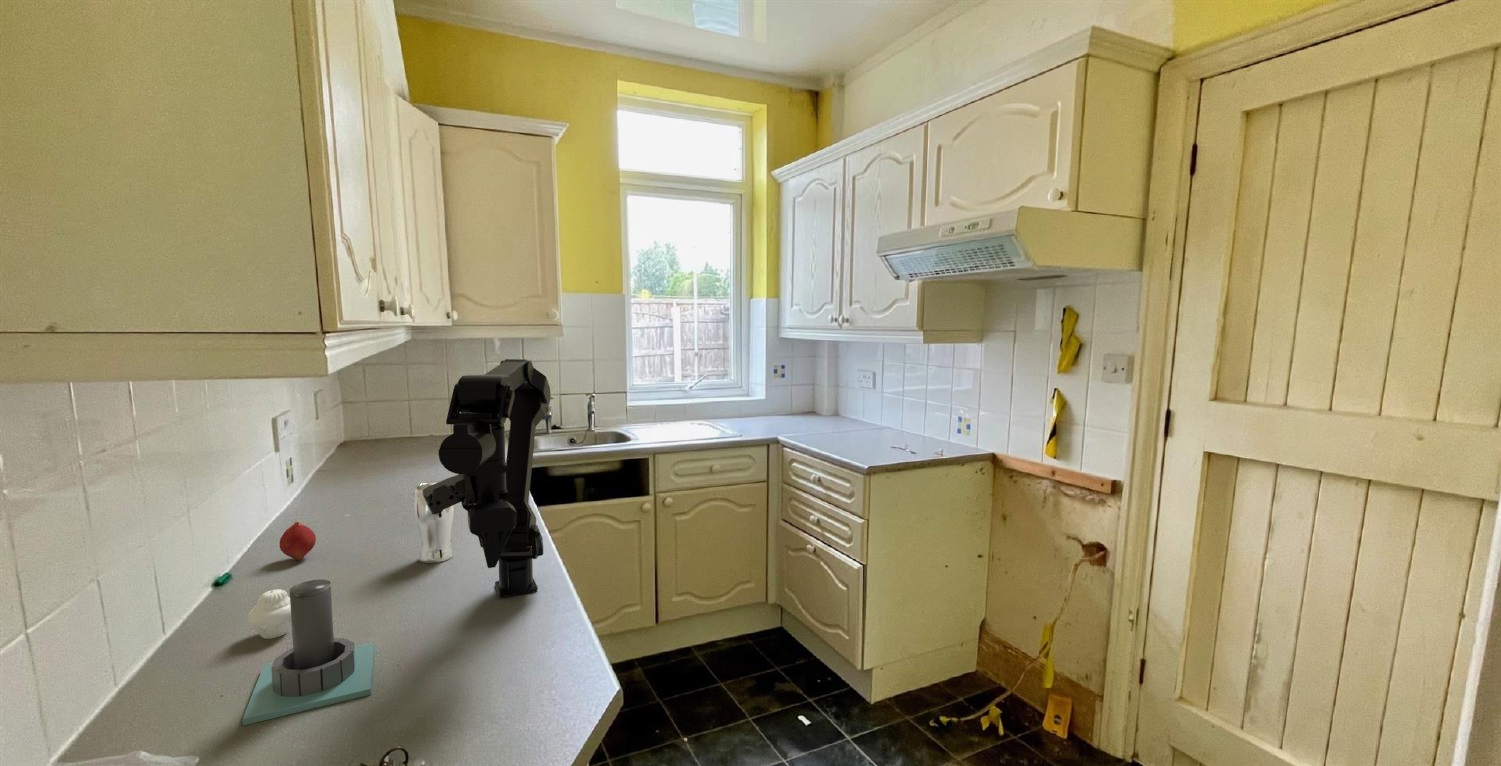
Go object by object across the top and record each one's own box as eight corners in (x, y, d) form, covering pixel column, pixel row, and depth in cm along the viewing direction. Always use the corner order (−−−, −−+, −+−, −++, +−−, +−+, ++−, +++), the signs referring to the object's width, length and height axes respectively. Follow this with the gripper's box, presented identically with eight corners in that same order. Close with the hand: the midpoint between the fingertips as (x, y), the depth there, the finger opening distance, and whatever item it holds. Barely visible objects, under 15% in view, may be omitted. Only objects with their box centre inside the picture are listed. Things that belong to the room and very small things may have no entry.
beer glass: (445, 548, 129) (443, 479, 128) (461, 557, 125) (459, 485, 123) (410, 558, 124) (408, 485, 122) (426, 567, 120) (423, 492, 118)
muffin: (308, 629, 95) (305, 586, 95) (263, 648, 90) (259, 602, 89) (286, 620, 98) (283, 578, 97) (240, 637, 93) (237, 593, 92)
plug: (312, 666, 84) (307, 578, 83) (343, 667, 84) (338, 580, 83) (286, 685, 80) (280, 593, 78) (319, 686, 80) (313, 594, 78)
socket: (264, 670, 84) (262, 644, 84) (374, 647, 91) (373, 622, 90) (242, 725, 73) (240, 695, 73) (370, 694, 79) (369, 666, 79)
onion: (273, 563, 120) (270, 523, 119) (300, 552, 126) (298, 514, 125) (296, 566, 119) (294, 526, 118) (323, 555, 124) (321, 517, 123)
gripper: (423, 450, 97) (427, 545, 99) (427, 477, 81) (431, 590, 83) (498, 444, 103) (500, 534, 104) (516, 469, 87) (518, 575, 88)
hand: (487, 556), depth 95 cm, fingers open, 9 cm apart
